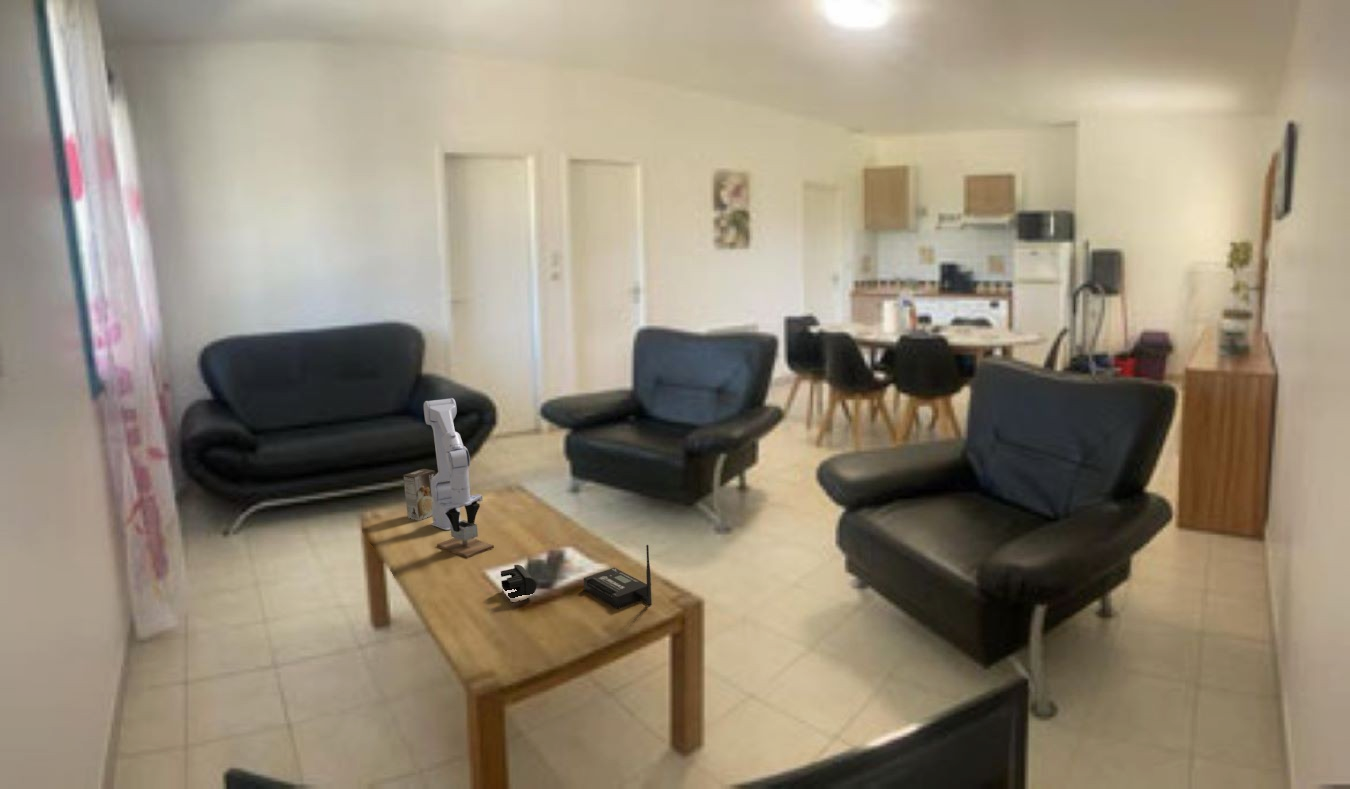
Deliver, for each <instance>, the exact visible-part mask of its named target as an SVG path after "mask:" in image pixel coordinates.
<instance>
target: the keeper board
mask: <svg viewBox="0 0 1350 789" xmlns="http://www.w3.org/2000/svg"><path fill="white" fill-rule="evenodd" d="M436 547H437V548H441V549H442V550H446V551H448V552H450V553H453V554H456V555H458V556H462V557H464V558H467V559H468V558H471V557H474V556H476V555H478V554H482V553H483V552H487V551H489V550H491V549H494V548H495V546H494V544H490V543H488V542H485V541H482V540H480V539H477V538H472V539H470V540H467V541H462V540H460V539H457V538H454V537H451V538H449V539H446V540H444V541H442V542H438V543H437V544H436Z"/></svg>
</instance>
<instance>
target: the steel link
mask: <svg viewBox="0 0 1350 789" xmlns="http://www.w3.org/2000/svg"><path fill="white" fill-rule="evenodd" d="M450 527H451V529H450V536H451V538H457V539H460V540H462V541H467V540H470V539H472V538H474V539H476V538H478V537H479V536H478V535H479V533H478V524H476V523H475V522H474V523H471V522H468V521H467V520H464V519H462V520H461V521H459V532H456V531H454V530H453V527H452V524H451V525H450Z"/></svg>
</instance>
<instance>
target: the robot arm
mask: <svg viewBox="0 0 1350 789" xmlns="http://www.w3.org/2000/svg"><path fill="white" fill-rule="evenodd" d="M457 412H458V410H457V403H456V400H455V399H454V398H453V397H450V398H444V399H434V400H425V401H424V402H423V414H424V421H425V424H426V425H428V426H431V428H432V431H433V433H432V434H433V441H434V446H435V448H434V449H435V456H436V465H437V473H435V476H434V477H433V478H432V479H431V494H432V498H433V500H434V502H433V504H432V513H433V516H432V522H431V524H430V525H432V526H433V527H437V528H439V529H442V530H444V531H451V527H450V525H451V524H452V527H453V530H454V531H456V532H459V521H462V520H461V510H460V508H462V507H464V509H465V514H466V519H467V520H466V521H468V522H471V523H474V524H475V521H476V516H477V514H478V511H479V509H480V507H481V506H480V503H478V502H483V494H479V493H477V494H473V495H471V488H470V475H469V467H470V465H471V457H470V453H469V450H468V448H467V447H466V446H464V443H463V440H462V438H461V433H459V432H457V431H456V430H455V426H454V425H455V424H454V420H455V418H456V415H457Z"/></svg>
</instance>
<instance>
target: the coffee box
mask: <svg viewBox="0 0 1350 789" xmlns="http://www.w3.org/2000/svg"><path fill="white" fill-rule="evenodd" d="M435 475H436V470H432V469H429V468H421V469H418V470H414V471H412V472H409V473H406V474H403V475H402V478H403V486H404V495H405V504H406V513H407V518H408V519H410V518H411V520H414V519H415V520H414V521H418V522H419V521H422V519H423V520H425V519H427V517H428V518H430V517H433V513H432V504H433V502H434V500H433V498H432V494H431V479H432V478H433V477H434V476H435Z"/></svg>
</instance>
